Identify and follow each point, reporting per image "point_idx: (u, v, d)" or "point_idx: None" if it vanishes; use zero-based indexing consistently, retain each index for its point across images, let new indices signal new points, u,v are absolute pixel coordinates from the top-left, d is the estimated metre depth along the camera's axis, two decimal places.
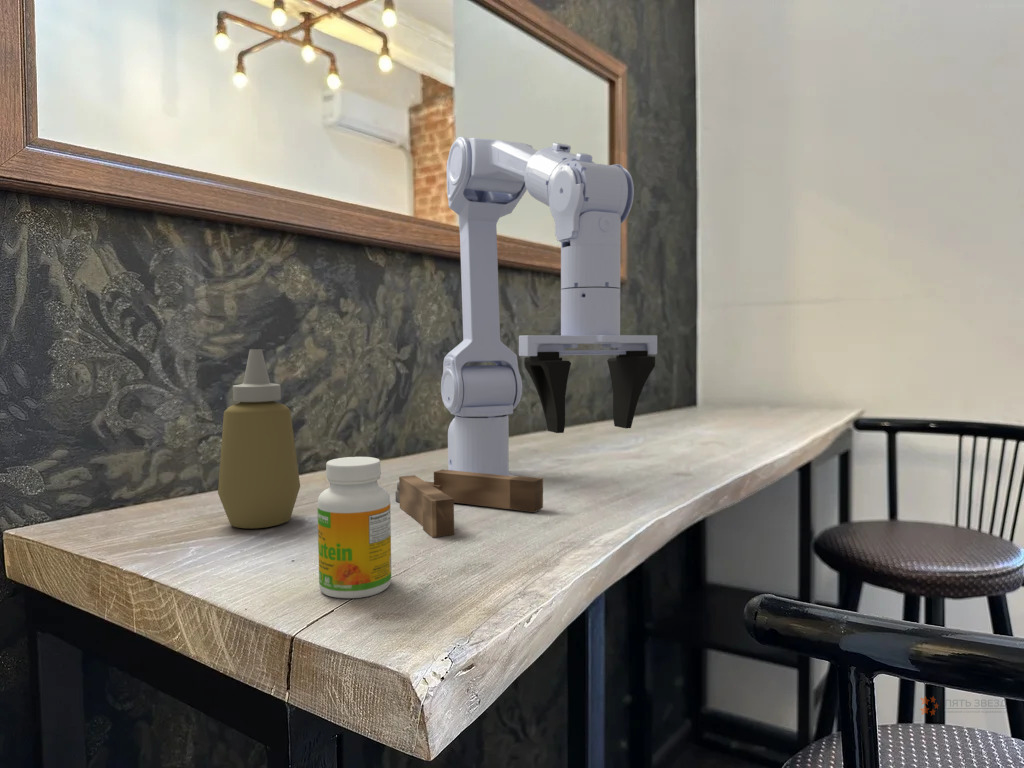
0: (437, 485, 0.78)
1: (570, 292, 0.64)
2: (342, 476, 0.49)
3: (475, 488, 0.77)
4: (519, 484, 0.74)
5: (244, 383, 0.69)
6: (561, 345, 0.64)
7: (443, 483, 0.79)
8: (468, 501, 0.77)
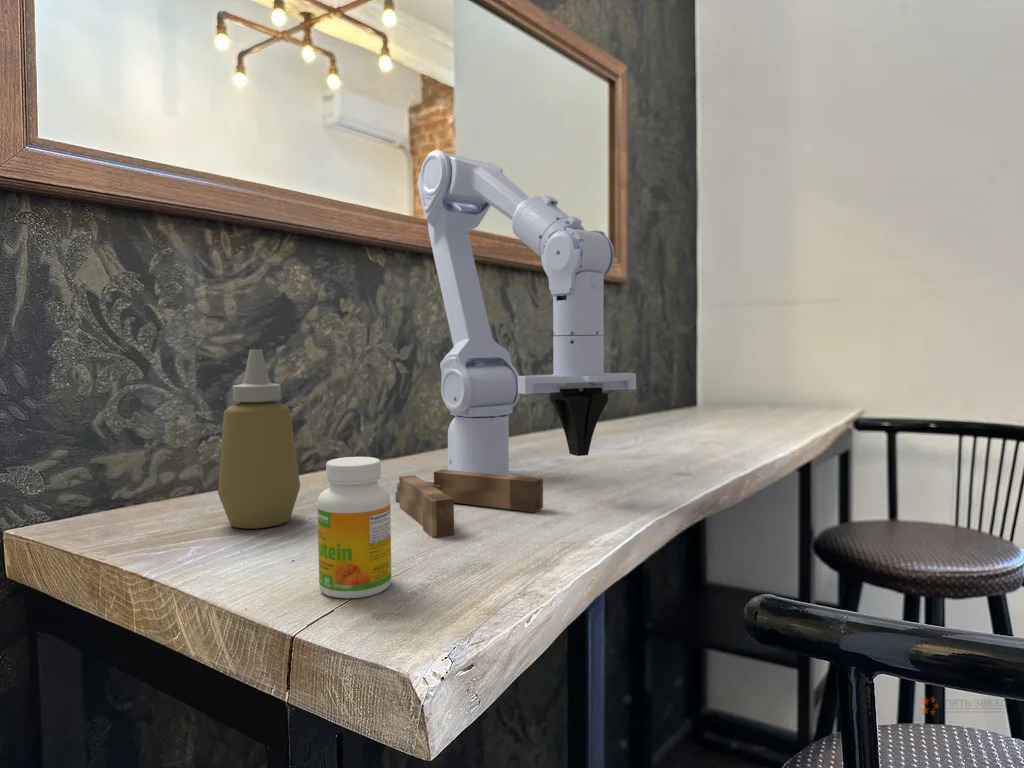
0: (437, 485, 0.78)
1: (561, 339, 0.75)
2: (342, 476, 0.49)
3: (475, 488, 0.77)
4: (519, 484, 0.74)
5: (244, 383, 0.69)
6: (553, 384, 0.76)
7: (443, 483, 0.79)
8: (468, 501, 0.77)
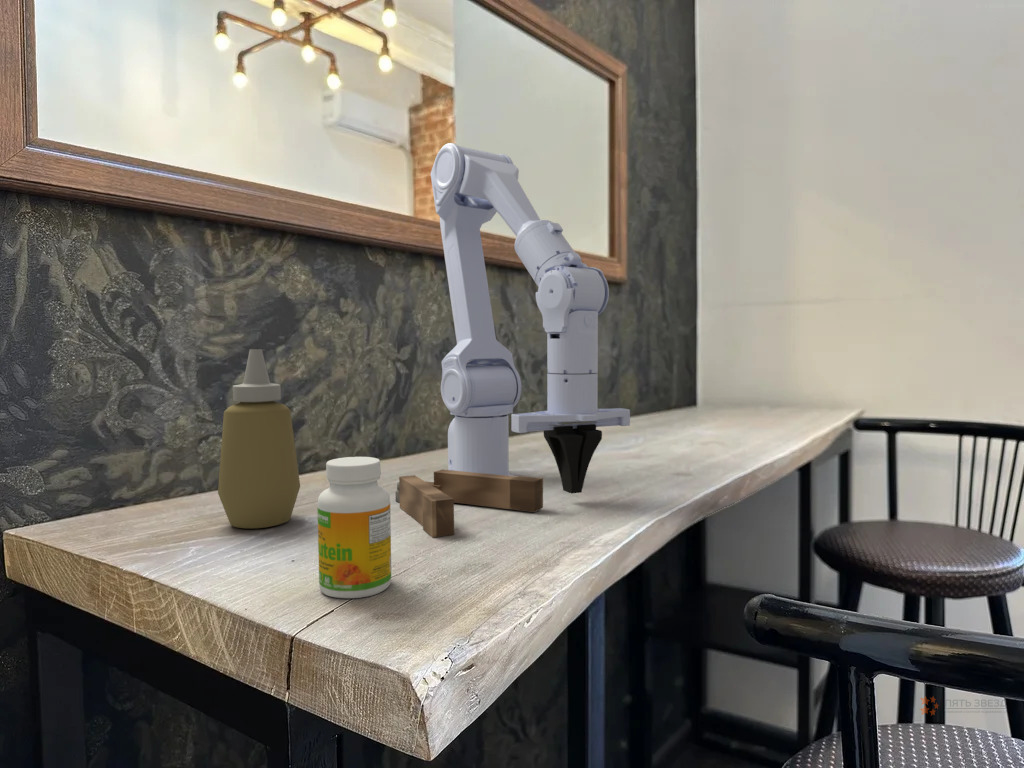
0: (437, 485, 0.78)
1: (555, 377, 0.75)
2: (342, 476, 0.49)
3: (475, 488, 0.77)
4: (519, 484, 0.74)
5: (244, 383, 0.69)
6: (547, 421, 0.76)
7: (443, 483, 0.79)
8: (468, 501, 0.77)
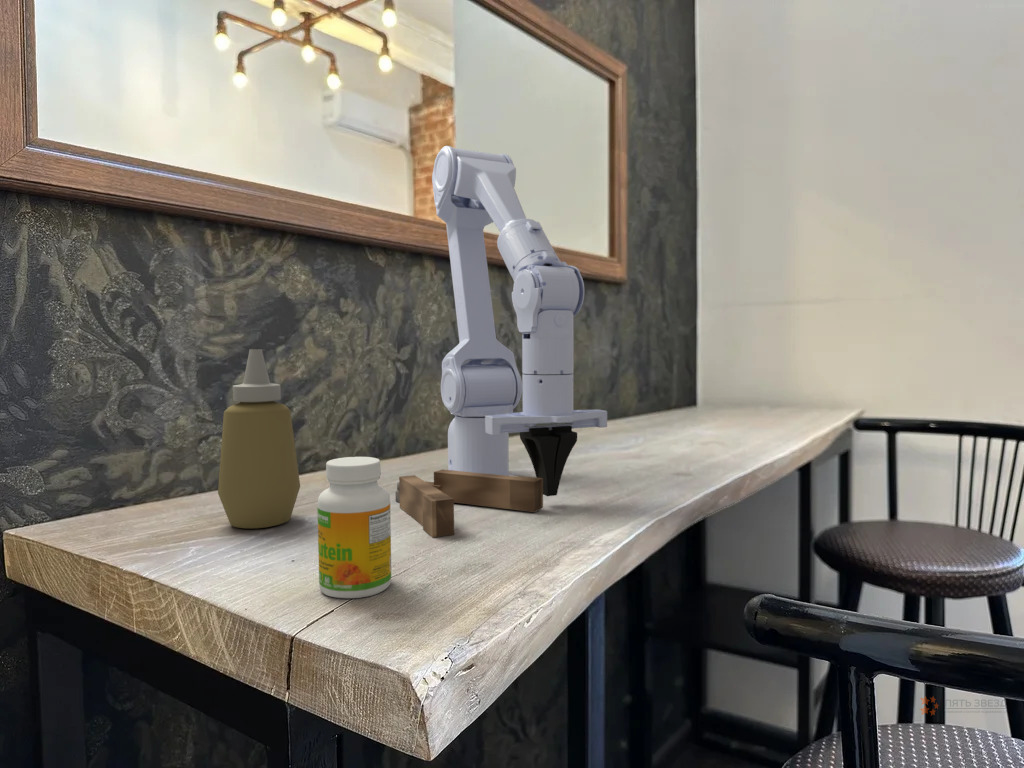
0: (437, 485, 0.78)
1: (529, 378, 0.74)
2: (342, 476, 0.49)
3: (475, 488, 0.77)
4: (519, 484, 0.74)
5: (244, 383, 0.69)
6: None
7: (443, 483, 0.79)
8: (468, 501, 0.77)
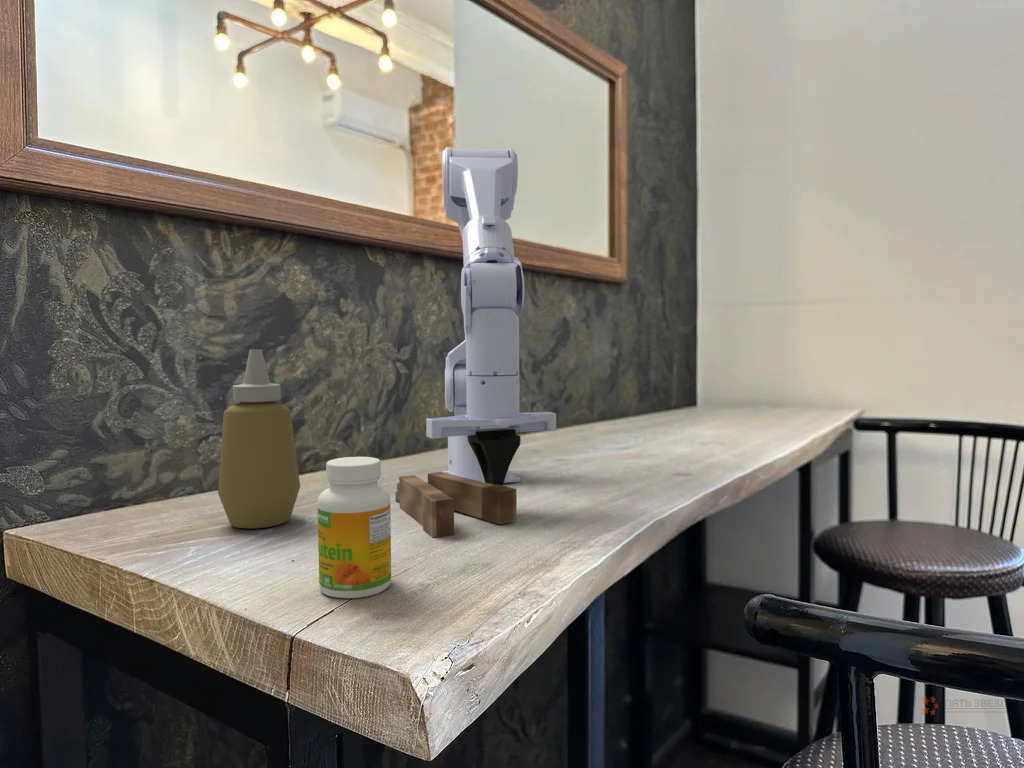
0: None
1: (472, 379, 0.71)
2: (342, 476, 0.49)
3: (456, 494, 0.74)
4: (488, 493, 0.70)
5: (244, 383, 0.69)
6: (465, 426, 0.72)
7: (434, 485, 0.77)
8: None
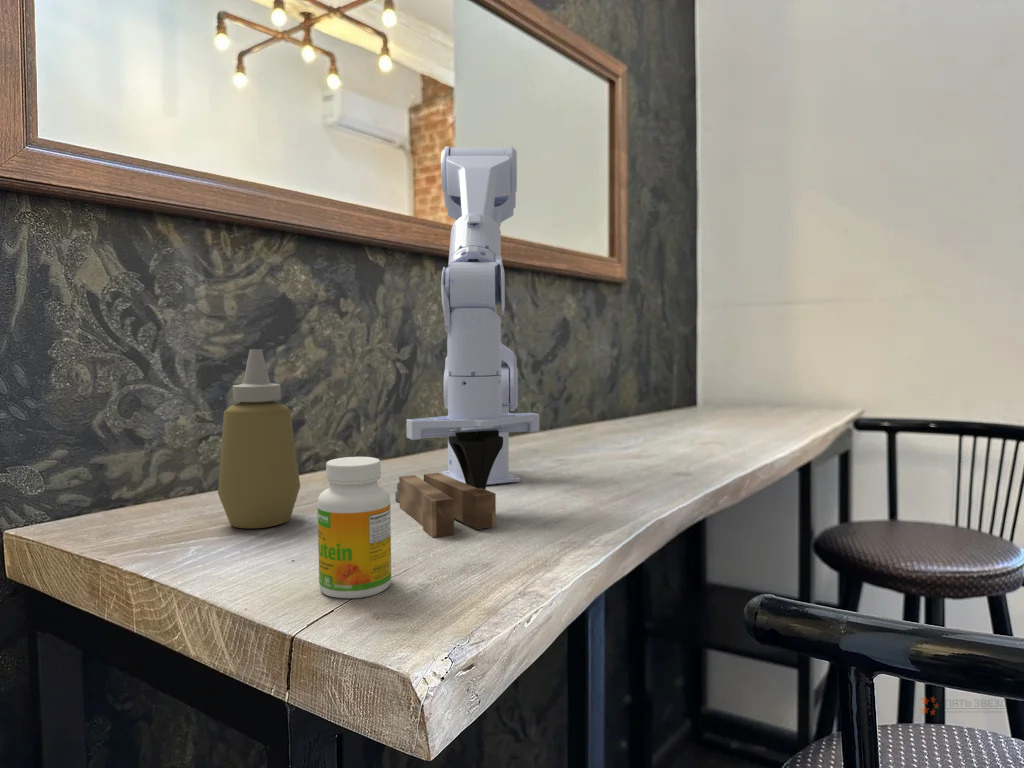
0: None
1: (453, 380, 0.70)
2: (342, 476, 0.49)
3: None
4: (467, 497, 0.68)
5: (244, 383, 0.69)
6: (446, 427, 0.71)
7: None
8: None
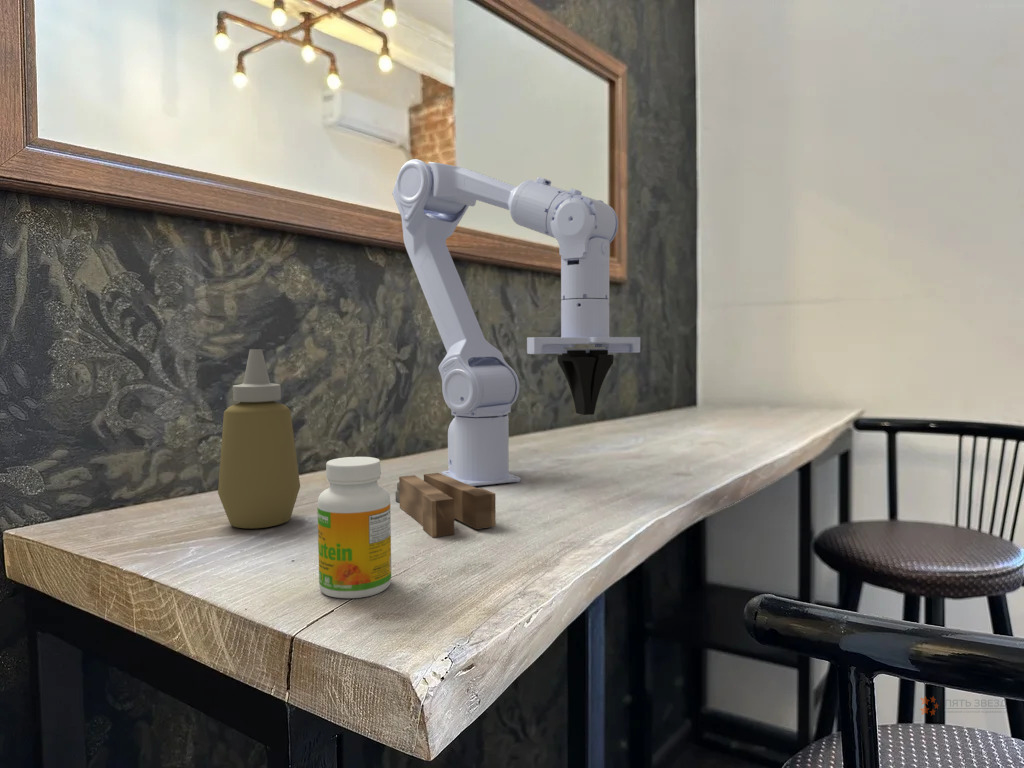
0: None
1: (568, 302, 0.79)
2: (342, 476, 0.49)
3: None
4: (467, 497, 0.68)
5: (244, 383, 0.69)
6: (561, 345, 0.79)
7: None
8: None
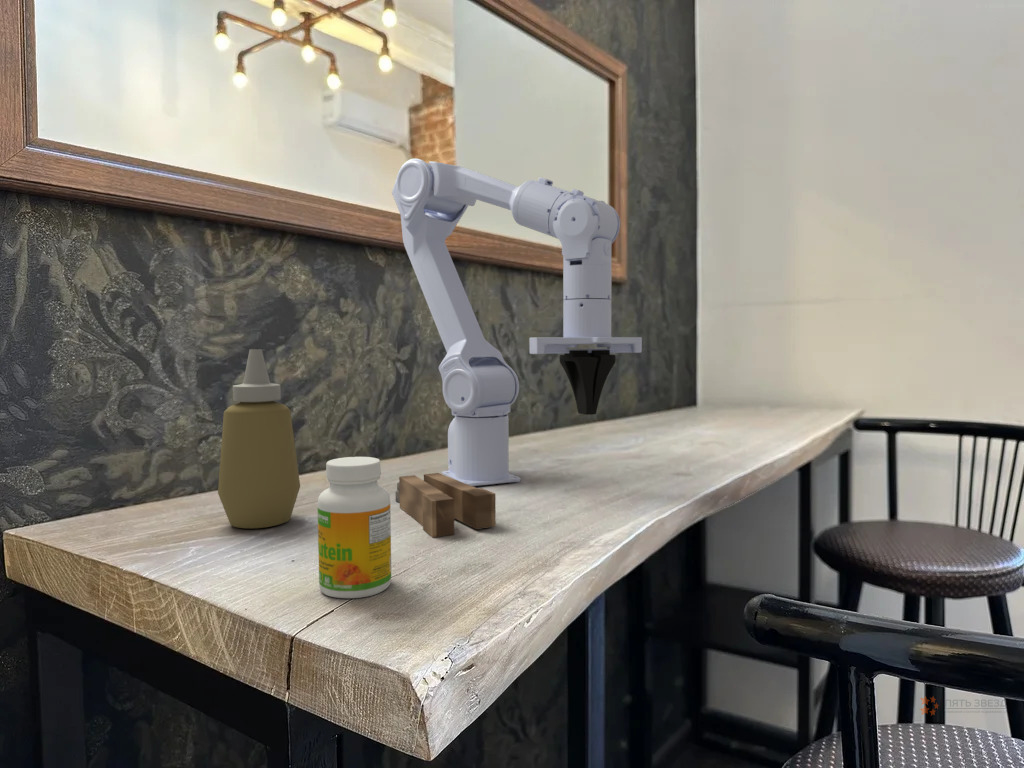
0: None
1: (571, 302, 0.79)
2: (342, 476, 0.49)
3: None
4: (467, 497, 0.68)
5: (244, 383, 0.69)
6: (563, 345, 0.80)
7: None
8: None
